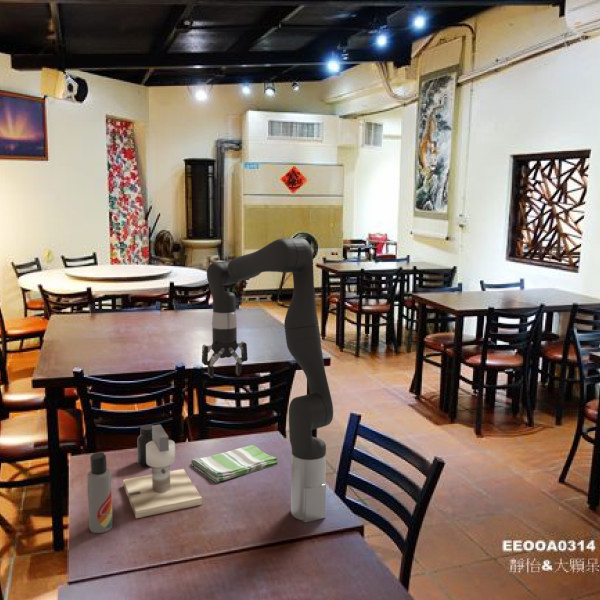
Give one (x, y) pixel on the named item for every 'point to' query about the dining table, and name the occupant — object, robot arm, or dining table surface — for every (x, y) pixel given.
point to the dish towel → (234, 463)
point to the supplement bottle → (143, 444)
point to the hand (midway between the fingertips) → (225, 375)
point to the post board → (161, 492)
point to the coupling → (160, 448)
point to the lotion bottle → (99, 494)
